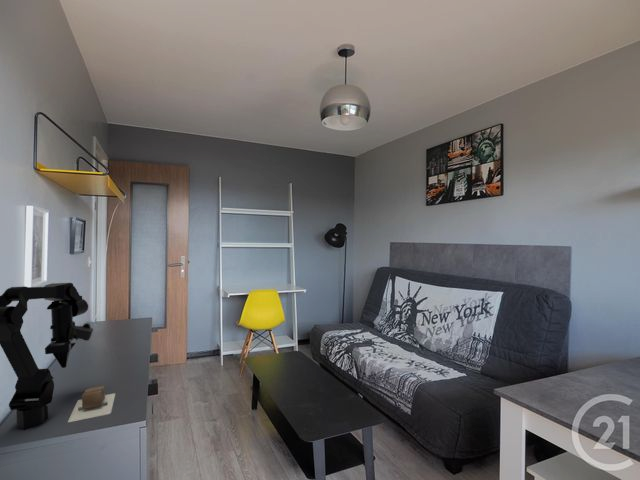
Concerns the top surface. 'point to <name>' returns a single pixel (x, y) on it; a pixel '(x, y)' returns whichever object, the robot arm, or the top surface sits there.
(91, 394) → the walnut block
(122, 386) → the top surface
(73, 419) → the mat
